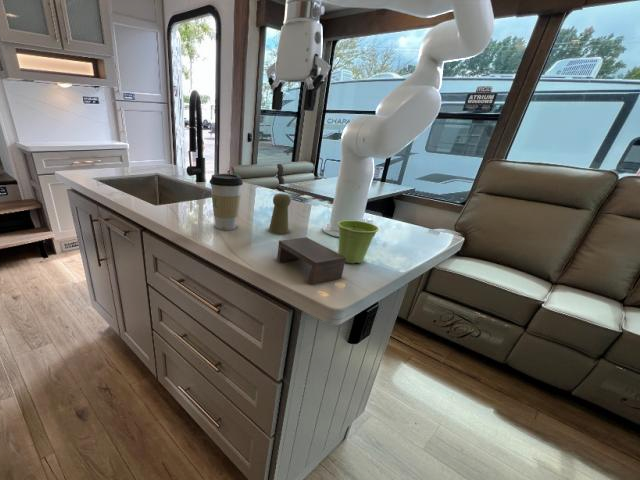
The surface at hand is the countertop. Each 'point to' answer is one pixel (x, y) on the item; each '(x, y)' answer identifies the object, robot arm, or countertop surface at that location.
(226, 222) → the coffee cup
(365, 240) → the plant pot
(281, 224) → the olive pawn figure
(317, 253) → the shelf
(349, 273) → the countertop surface
